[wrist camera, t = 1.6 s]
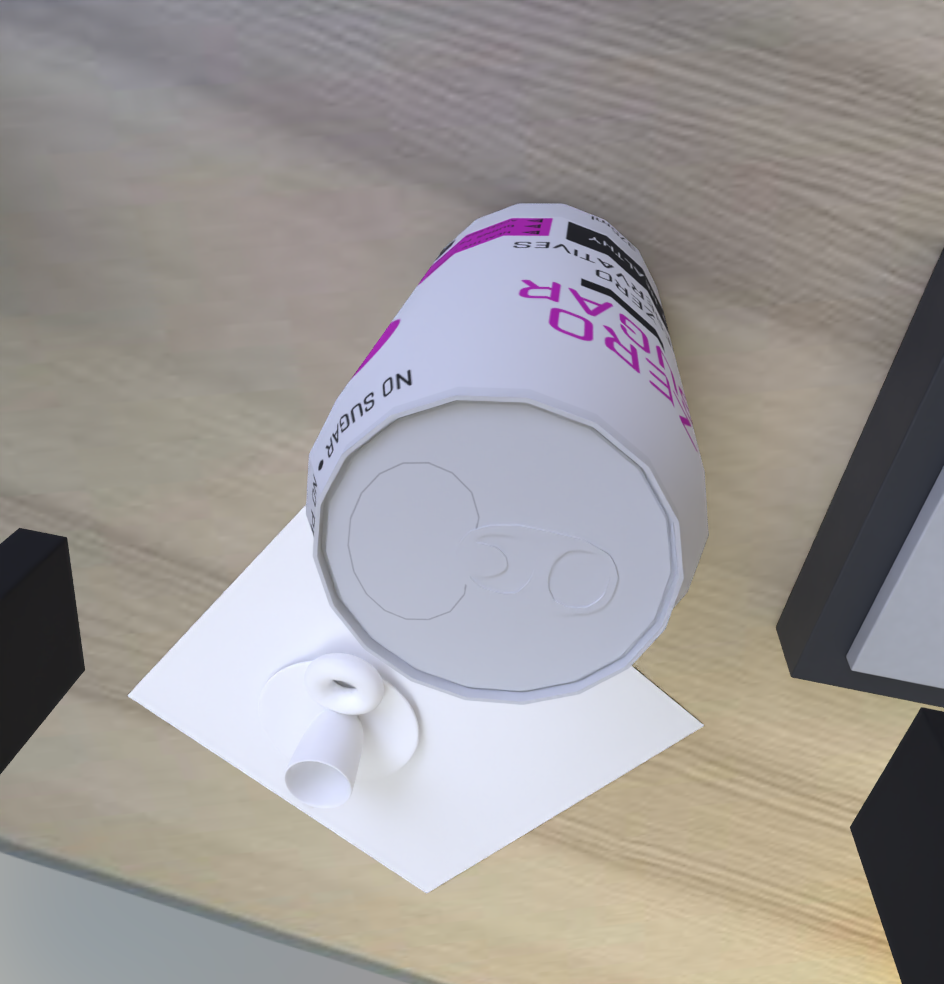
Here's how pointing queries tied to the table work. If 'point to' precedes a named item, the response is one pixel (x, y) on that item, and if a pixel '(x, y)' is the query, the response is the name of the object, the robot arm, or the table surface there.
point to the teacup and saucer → (388, 726)
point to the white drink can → (513, 467)
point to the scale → (883, 539)
